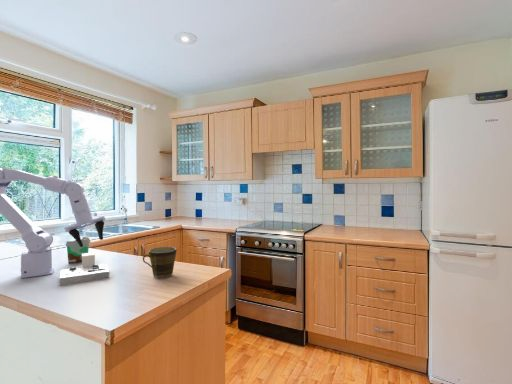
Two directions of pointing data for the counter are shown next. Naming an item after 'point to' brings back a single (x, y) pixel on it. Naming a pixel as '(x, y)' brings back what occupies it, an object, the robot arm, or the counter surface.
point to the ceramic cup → (162, 261)
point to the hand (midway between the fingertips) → (91, 242)
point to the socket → (83, 274)
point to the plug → (88, 259)
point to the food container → (77, 250)
